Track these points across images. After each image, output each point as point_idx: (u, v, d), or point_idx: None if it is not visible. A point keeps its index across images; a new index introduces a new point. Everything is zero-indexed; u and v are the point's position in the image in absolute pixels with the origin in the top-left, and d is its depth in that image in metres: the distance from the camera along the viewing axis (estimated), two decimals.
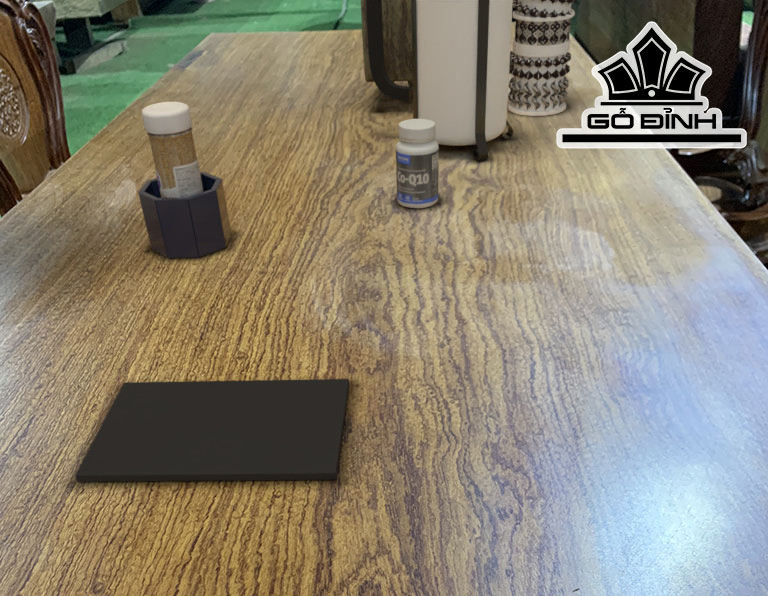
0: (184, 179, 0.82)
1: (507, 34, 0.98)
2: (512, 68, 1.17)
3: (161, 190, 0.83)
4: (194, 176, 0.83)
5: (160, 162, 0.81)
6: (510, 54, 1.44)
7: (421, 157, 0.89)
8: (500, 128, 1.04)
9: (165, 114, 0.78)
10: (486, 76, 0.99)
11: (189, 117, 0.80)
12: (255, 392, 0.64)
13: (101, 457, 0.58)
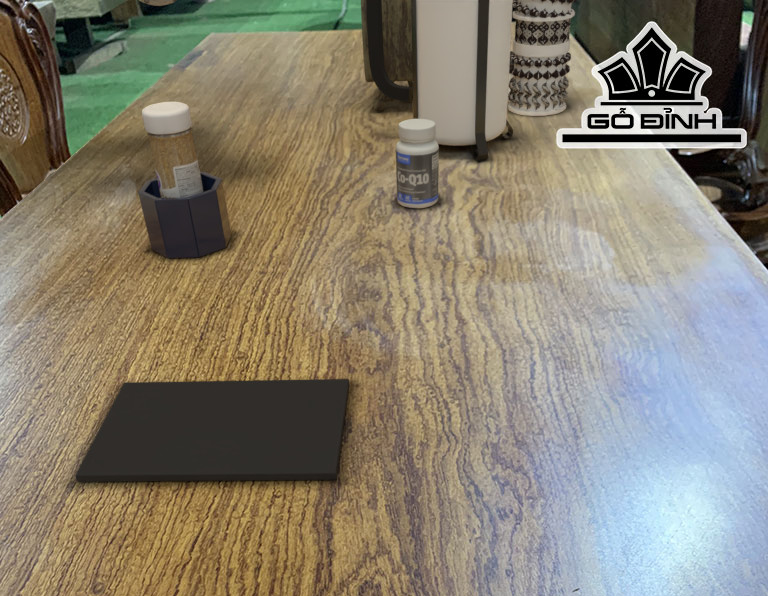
0: (184, 179, 0.82)
1: (507, 34, 0.98)
2: (512, 68, 1.17)
3: (161, 190, 0.83)
4: (194, 176, 0.83)
5: (160, 162, 0.81)
6: (510, 54, 1.44)
7: (421, 157, 0.89)
8: (500, 128, 1.04)
9: (165, 114, 0.78)
10: (486, 76, 0.99)
11: (189, 117, 0.80)
12: (255, 392, 0.64)
13: (101, 457, 0.58)
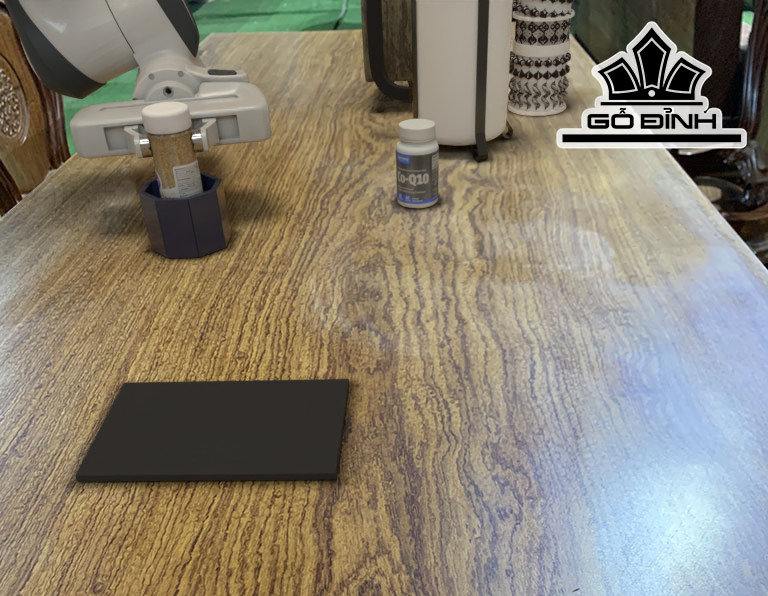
0: (184, 179, 0.82)
1: (507, 34, 0.98)
2: (512, 68, 1.17)
3: (161, 190, 0.83)
4: (193, 176, 0.82)
5: (160, 162, 0.81)
6: (510, 54, 1.44)
7: (421, 157, 0.89)
8: (500, 128, 1.04)
9: (165, 114, 0.78)
10: (486, 76, 0.99)
11: (188, 117, 0.80)
12: (255, 392, 0.64)
13: (101, 457, 0.58)
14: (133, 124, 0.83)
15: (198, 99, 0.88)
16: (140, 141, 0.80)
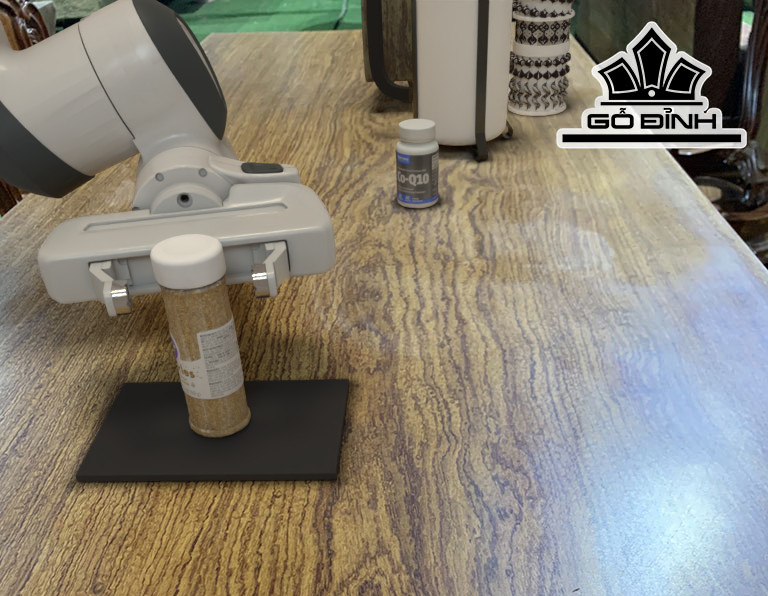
0: (214, 348, 0.55)
1: (507, 34, 0.98)
2: (512, 68, 1.17)
3: (178, 361, 0.56)
4: (227, 342, 0.55)
5: (177, 325, 0.54)
6: (510, 54, 1.44)
7: (421, 157, 0.89)
8: (500, 128, 1.04)
9: (187, 261, 0.50)
10: (486, 76, 0.99)
11: (222, 261, 0.52)
12: (255, 392, 0.64)
13: (101, 457, 0.58)
14: (104, 259, 0.55)
15: (228, 210, 0.60)
16: (113, 293, 0.52)
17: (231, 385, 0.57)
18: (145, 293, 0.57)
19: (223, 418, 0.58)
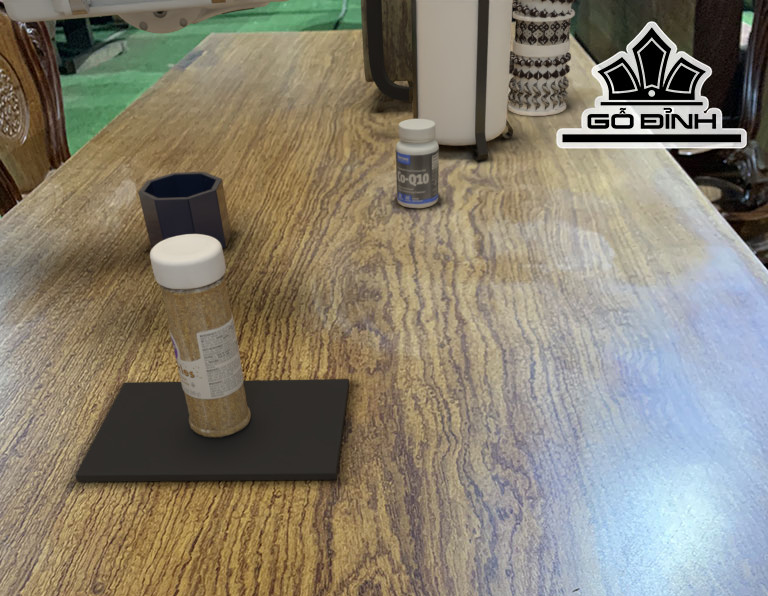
0: (214, 348, 0.55)
1: (507, 34, 0.98)
2: (512, 68, 1.17)
3: (178, 361, 0.56)
4: (227, 342, 0.55)
5: (177, 325, 0.54)
6: (510, 54, 1.44)
7: (421, 157, 0.89)
8: (500, 128, 1.04)
9: (186, 261, 0.50)
10: (486, 76, 0.99)
11: (222, 261, 0.52)
12: (255, 392, 0.64)
13: (101, 457, 0.58)
14: None
15: None
16: None
17: (231, 385, 0.57)
18: (103, 13, 0.57)
19: (223, 418, 0.58)
